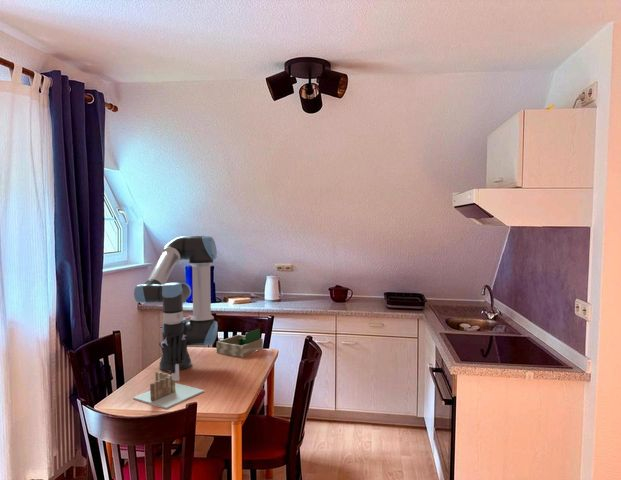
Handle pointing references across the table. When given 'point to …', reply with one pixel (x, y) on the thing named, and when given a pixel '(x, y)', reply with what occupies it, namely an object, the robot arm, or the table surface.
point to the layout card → (170, 396)
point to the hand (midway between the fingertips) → (175, 379)
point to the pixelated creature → (250, 337)
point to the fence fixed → (162, 375)
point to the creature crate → (238, 346)
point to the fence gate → (160, 388)
